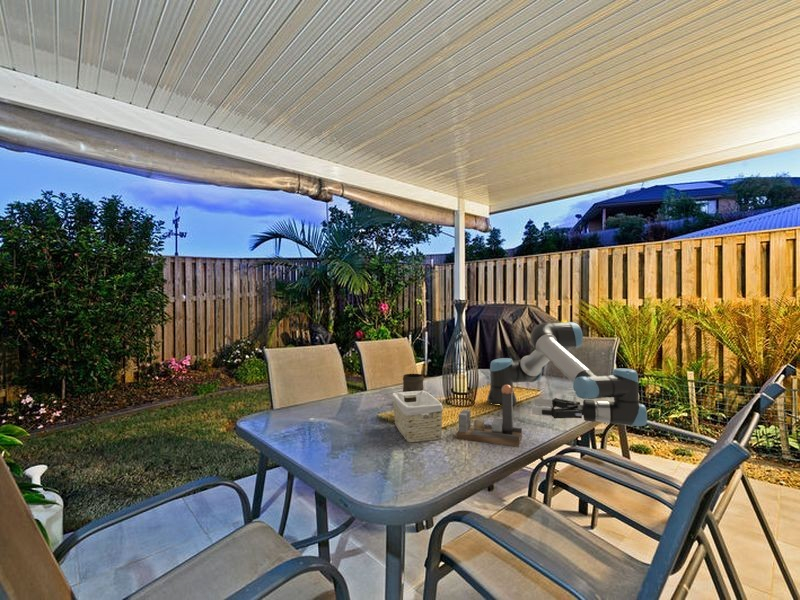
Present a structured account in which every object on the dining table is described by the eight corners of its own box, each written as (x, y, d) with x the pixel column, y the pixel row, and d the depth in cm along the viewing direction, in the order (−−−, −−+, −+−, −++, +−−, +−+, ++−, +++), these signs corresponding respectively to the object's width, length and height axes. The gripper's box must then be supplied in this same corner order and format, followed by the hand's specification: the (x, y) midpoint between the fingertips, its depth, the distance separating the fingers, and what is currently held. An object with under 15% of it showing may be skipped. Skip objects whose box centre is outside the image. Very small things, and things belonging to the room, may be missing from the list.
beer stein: (421, 420, 172) (421, 376, 173) (399, 418, 175) (399, 375, 177) (429, 413, 186) (429, 372, 188) (409, 411, 190) (409, 371, 191)
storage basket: (444, 440, 147) (444, 403, 147) (405, 445, 143) (404, 406, 143) (425, 422, 170) (425, 389, 170) (391, 425, 166) (390, 392, 166)
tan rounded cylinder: (475, 428, 154) (475, 419, 154) (485, 430, 152) (485, 420, 152) (473, 431, 150) (473, 422, 150) (483, 433, 148) (483, 423, 148)
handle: (494, 429, 152) (493, 381, 152) (514, 431, 149) (514, 383, 149) (491, 434, 146) (491, 385, 146) (512, 437, 143) (511, 386, 143)
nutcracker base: (463, 428, 160) (463, 407, 160) (522, 436, 150) (521, 413, 150) (456, 438, 149) (456, 415, 149) (518, 446, 139) (518, 422, 139)
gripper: (598, 432, 123) (531, 425, 132) (593, 412, 146) (535, 407, 155) (598, 409, 123) (530, 403, 132) (592, 393, 146) (535, 389, 155)
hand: (533, 405), depth 143 cm, fingers open, 13 cm apart
